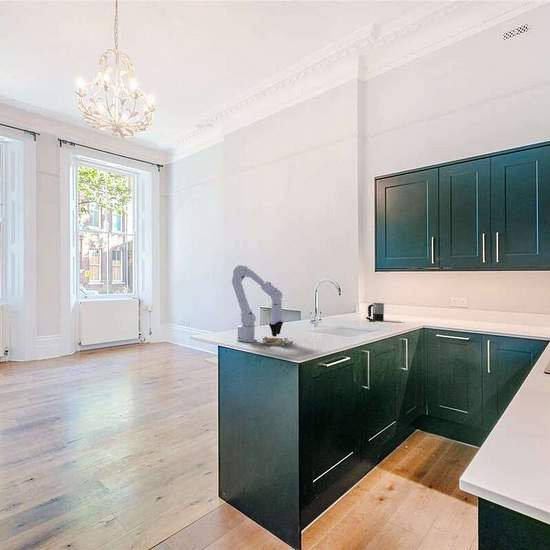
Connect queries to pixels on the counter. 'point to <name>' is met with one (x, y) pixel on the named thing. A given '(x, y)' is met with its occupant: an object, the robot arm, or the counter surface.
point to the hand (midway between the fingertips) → (276, 335)
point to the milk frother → (376, 312)
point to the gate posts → (266, 341)
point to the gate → (275, 340)
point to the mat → (277, 344)
